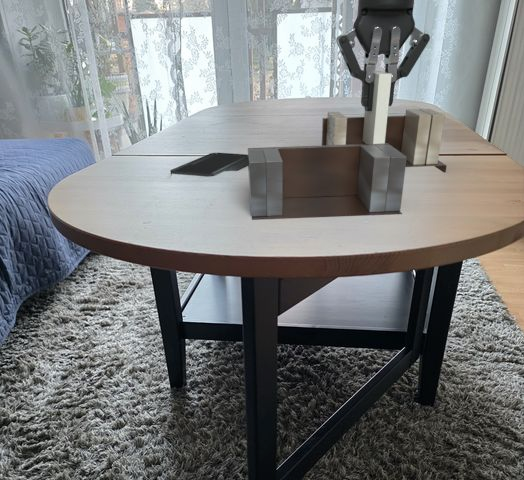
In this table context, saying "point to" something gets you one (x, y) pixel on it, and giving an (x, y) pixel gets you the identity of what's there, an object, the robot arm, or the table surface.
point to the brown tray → (394, 134)
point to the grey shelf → (325, 181)
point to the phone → (212, 164)
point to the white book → (378, 110)
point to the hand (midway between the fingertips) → (376, 109)
